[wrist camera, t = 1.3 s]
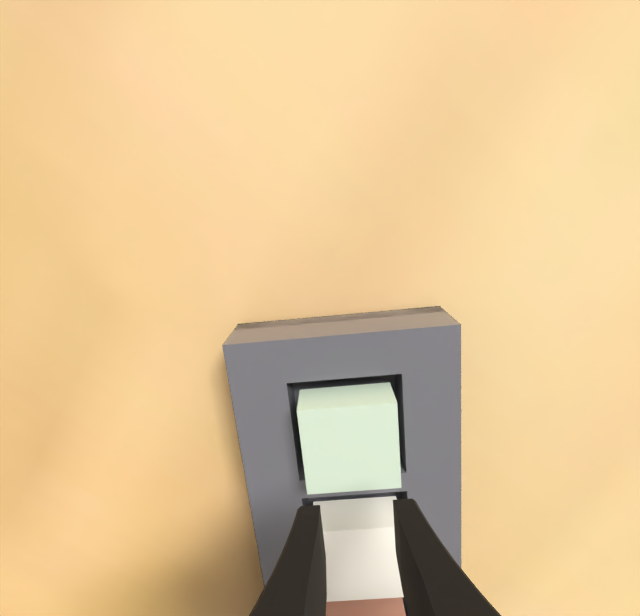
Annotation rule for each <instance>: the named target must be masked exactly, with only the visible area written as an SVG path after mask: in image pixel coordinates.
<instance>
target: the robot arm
mask: <svg viewBox="0 0 640 616" xmlns="http://www.w3.org/2000/svg"><path fill="white" fill-rule="evenodd" d="M393 513H394V531H395V548H396V557H397V563H398V569H399V574H400V580H401V586H402V591H403V595H404V599H405V603H406V606H407V610H408V614H409V616H501V615H500V614H499V613H498V612H497V611H496V610H495V609H494V607H493V606H492V605H491V604H490V603H489V602H488V601H487V600H486V598H485V597H484V596H483V595H482V594H481V593H480V591H479V590H478V589H477V588H476V587H475V585H474V584H473V583H472V582H471V580H470V579H469V578H468V577H467V575H466V574H465V573H464V572H463V570H462V569H461V568H460V567H459V565H458V564H457V563H456V561H455V560H454V559H453V557H452V556H451V555H450V553H449V552H448V550H447V549H446V548H445V546H444V545H443V544H442V542H441V541H440V539H439V538H438V536H437V535H436V533H435V532H434V530H433V529H432V527H431V526H430V524H429V523H428V521H427V520H426V518H425V516H424V515H423V513H422V511H421V509H420V508H419V506H418V504H417V502H416V501H415V500H414V499H398V500H393ZM326 600H327V580H326V553H325V545H324V536H323V528H322V519H321V511H320V505H311V506H300V507H299V508H298V509H297V513H296V516H295V519H294V522H293V525H292V528H291V531H290V533H289V536H288V538H287V541H286V543H285V546H284V548H283V550H282V552H281V555H280V557H279V559H278V561H277V564H276V566H275V568H274V570H273V572H272V574H271V576H270V578H269V580H268V582H267V584H266V586H265V588H264V590H263V592H262V593H261V595H260V597H259V599H258V601H257V603H256V605H255V606H254V608H253V610H252V612H251V613H250V615H249V616H326Z"/></svg>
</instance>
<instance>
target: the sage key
mask: <svg viewBox="0 0 640 616" xmlns="http://www.w3.org/2000/svg"><path fill="white" fill-rule="evenodd" d="M297 417H298V425H299V433H300V441H301V449H302V457H303V465H304V473H305V481H306V489H307V495H308V494H322V493H336V492H351V491H365V490H379V489H393V488H401V467H400V447H399V427H398V407H397V401H396V398H395V395H394V392H393V390H392V387H391V384H390V382H387V383H375V384H363V385H351V386H338V387H326V388H314V389H301V390H300V391H299V398H298V405H297Z"/></svg>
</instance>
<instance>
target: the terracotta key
mask: <svg viewBox="0 0 640 616" xmlns="http://www.w3.org/2000/svg"><path fill="white" fill-rule="evenodd" d="M326 616H406V614H405V609H404V604H403V599H402V597H399V598H382V599H365V600H348V601H331V602H326Z"/></svg>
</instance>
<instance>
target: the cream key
mask: <svg viewBox="0 0 640 616" xmlns="http://www.w3.org/2000/svg"><path fill="white" fill-rule="evenodd" d="M393 500H397V498H396V496H388V497H374V498H359V499H345V500H331V501H316V502H313V505H320V511H321V519H322V528H323V536H324V545H325V553H326V580H327V600H326V602H331V601H348V600H365V599H382V598H399V597H404V595H403V591H402V586H401V580H400V574H399V569H398V563H397V557H396V548H395V531H394V513H393Z"/></svg>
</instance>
